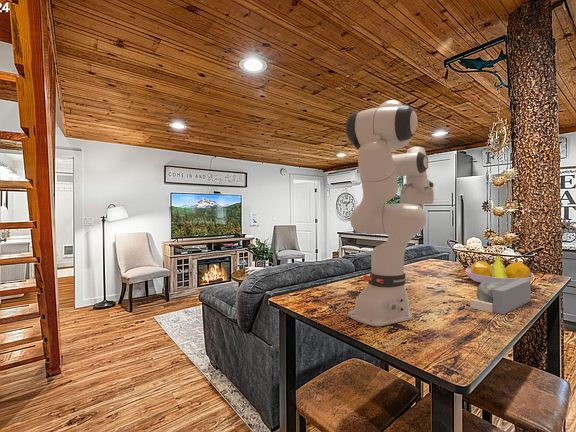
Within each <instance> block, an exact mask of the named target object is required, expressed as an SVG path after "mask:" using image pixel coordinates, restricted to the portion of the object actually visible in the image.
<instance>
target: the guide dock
mask: <svg viewBox="0 0 576 432" xmlns="http://www.w3.org/2000/svg"><path fill="white" fill-rule="evenodd" d="M531 285H532V284H531V282H530V280H525V279H519V280H517V281H514V282H511V283H509V284H506V285H503V286H501V287H498V288H495V289H493V304H492V303H488V302H483V301H479V300H478V299H475V298H470V299H469V308H471V309H475V310H478V311H482V312H486V313H491V314H493V313H495V314H499V315H506V314H507V313H509V312H512V311H514V310H516V309H518V308H520V307H522V306H523V305H526V304H527V303H529V302H531V301H532V300H531V299H532V298H531V297H532V296H531V295H532V294H531V293H532V292H531V287H532V286H531Z"/></svg>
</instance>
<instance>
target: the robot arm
mask: <svg viewBox="0 0 576 432" xmlns="http://www.w3.org/2000/svg"><path fill="white" fill-rule="evenodd" d="M418 123H419V122H418V116H417V112H416V110H415V109H414V108H413V107H412V106H411V105H404V104H402V103H401V101H399V100H395V99H390V100H386V101H384V102H383V103H381V104H380V105H379V106H378V107H372V108H369V109H368V108H367V109H364V110H357V111H354V112H353V113H351V114H349V116H348V117H347V120H346V123H345V134H346V137H347V138H348V140H349V142H351V144H352V145H353V146H354V148H355V149H356V150H358V152H357V161H358V162H357V164H358V172H359V177H360V180H361V186H362V187H361V188H362V199H361V202H360V203H359V204H358V205H357V206H356V207H354V208H353V210H352V212H350V213H351V214H350V218H349V220H350V222H349V223H350V224H351V225H350V226H351V227H352V229H353V230H354V231H355V232H356V233H361V234H365V235H387V240H386V241H385V242H384V243H381V244H379V245H377V246H375V247H374V248H373V249H372V251H371V254H370V261H371V271H370V274H369V275H367V274H364V275H363V281H367V283H368V284H367V285H366V286H365V287H364V288H363V289H362V291H361V292H360V293H359V294H358V295H357V296H356V298H355V302H354V309H351V310H350V311H348V312H347V315H348V317H349V318H351V319H352V320H355V322H356V321H357V322H359V323H362V324H365V325H367V326H373V327H383V326H386V325H387V326H388V325H391V324H392V325H393V324H396V323H401V322H406V321H411V320H413V314H412V313H411V309H410V301H409V294H408V292H407V289H406V279H407V277H406V273H405V253H406V249H407V248H408V247H407V246H408V245H409V242H410V241H412V239H413V238H414V237H415V236H416V235H418V234H420V232H422V230H423V229H424V228H425V225H426V222H427V216H426V213H425V210H424V209H423V206H424V205H432V204H433V203H434V200H435V199H434V198H435V197H434V196H435V195H434V193H435V192H434V188H435V184H434V182H433V181H431V180H429V178H428V174H427V169H429V159H428V156H427V152H426V150H425V149H426V148H425V147H422V146H411V147H409V148H408V149H407V150H406V152H405V153H398V154H392V152H393V151H397V150H400V149H403V148H404V147H406V146H407V145H408V144H409V143H410V142H411V140H412V139H413V136H415V135H416V131H417V128H418ZM397 177H405V183H403V184H402V186H401V189H400V192H399V193H400V194H399V196H400V197H399V203H388V202H390V201H391V200H392V199H394V197H395V196H396V195H397V193H398V190H399V185H398V179H397Z"/></svg>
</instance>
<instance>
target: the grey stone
mask: <svg viewBox="0 0 576 432" xmlns="http://www.w3.org/2000/svg"><path fill="white" fill-rule="evenodd" d="M503 285H506V283H505V282H503V281H497V280H493V281H486V282H483V283H479V285H478V287H477V288H476V297H477V300H479V301H483V302H488V303H492V304H493V289H495V288H498V287H501V286H503Z"/></svg>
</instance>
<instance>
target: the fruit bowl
mask: <svg viewBox="0 0 576 432" xmlns="http://www.w3.org/2000/svg"><path fill="white" fill-rule="evenodd" d="M499 257H500V256H499V255H496V256H495V260H494V262H493V264H492V265H490V263H488V262H487V261H483V260H478V261H476V262H473V263H472V264H470V265H471V266H470V267H466V269H465V270H464V271H465V273H466V276H467V277H469V278H470V279H471V280H472V281H473V282H477V283H479V284H481V283H483V282H486V281H493V280H497V281H503V282H505V283H506V284H509V283H511V282H514V281H517V280H519V279H525V280H530V283H531V282H532V281H533V280H534V279H535V277H536V276H535V275H534V273H533V272H532V271H531V269H530V268H529V267H528V266H527V265H525V264H524V263H523V262H521V261H513V262H512V263H510V264H508V265H507V266H506V267H505V265H504V264H503V262H502V261H501V259H500V258H499Z"/></svg>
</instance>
